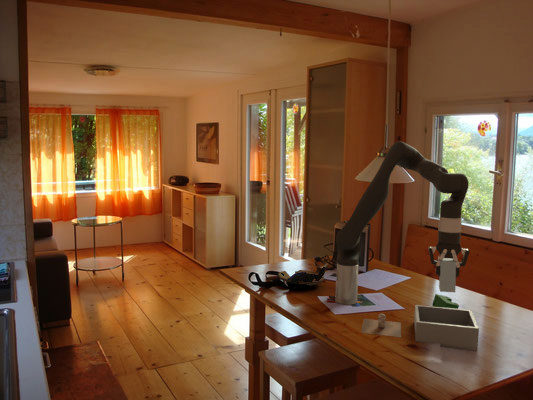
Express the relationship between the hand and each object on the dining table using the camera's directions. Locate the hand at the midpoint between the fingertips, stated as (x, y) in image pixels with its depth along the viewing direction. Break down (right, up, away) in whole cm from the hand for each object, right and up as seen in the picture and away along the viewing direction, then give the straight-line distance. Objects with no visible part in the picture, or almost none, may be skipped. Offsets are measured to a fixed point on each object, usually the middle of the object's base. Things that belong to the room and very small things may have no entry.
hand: (447, 276), depth 167 cm
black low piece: (-45, -15, +65) cm, 80 cm away
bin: (0, -23, +3) cm, 23 cm away
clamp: (+10, -20, +29) cm, 36 cm away
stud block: (-21, -22, +9) cm, 32 cm away
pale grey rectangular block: (0, -5, 0) cm, 5 cm away
